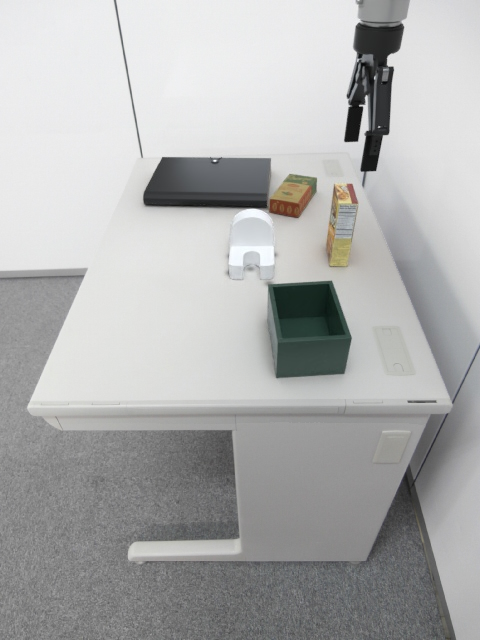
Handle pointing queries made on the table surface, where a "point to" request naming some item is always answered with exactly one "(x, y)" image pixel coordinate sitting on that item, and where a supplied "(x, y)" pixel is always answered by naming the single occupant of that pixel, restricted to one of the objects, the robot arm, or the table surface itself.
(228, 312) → the table surface
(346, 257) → the candy box
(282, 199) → the carton
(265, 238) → the white plastic bracket
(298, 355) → the open storage box
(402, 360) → the table surface
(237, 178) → the file folder
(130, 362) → the table surface
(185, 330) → the table surface
